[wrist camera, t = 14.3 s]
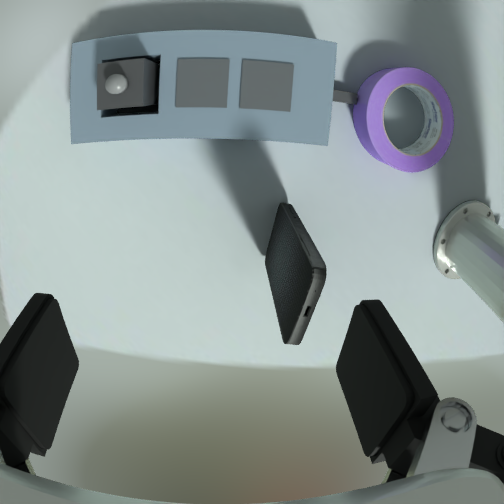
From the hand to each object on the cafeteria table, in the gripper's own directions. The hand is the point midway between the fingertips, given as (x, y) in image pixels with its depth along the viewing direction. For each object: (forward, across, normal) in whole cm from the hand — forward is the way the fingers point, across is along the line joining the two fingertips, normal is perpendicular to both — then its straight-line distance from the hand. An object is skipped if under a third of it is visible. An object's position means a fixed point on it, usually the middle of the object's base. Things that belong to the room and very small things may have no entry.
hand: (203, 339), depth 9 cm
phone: (+26, -7, +8) cm, 29 cm away
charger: (+26, +8, -8) cm, 29 cm away
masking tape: (+27, -20, -7) cm, 34 cm away
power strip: (+26, +2, -8) cm, 27 cm away
